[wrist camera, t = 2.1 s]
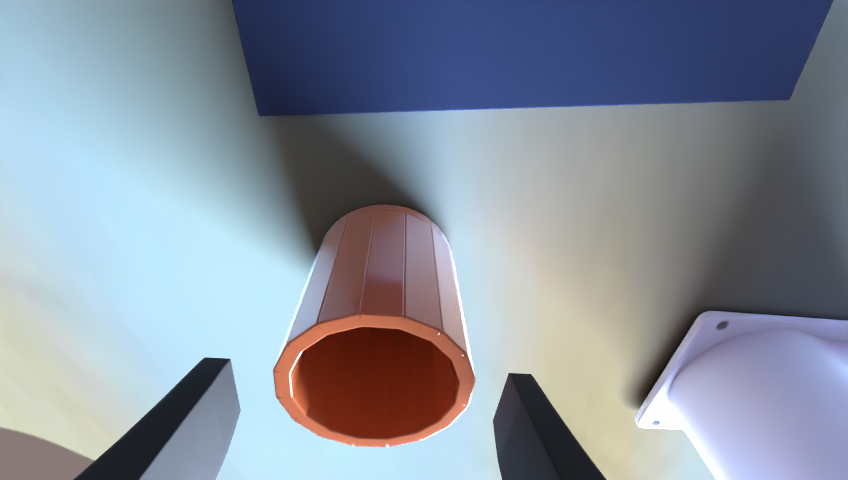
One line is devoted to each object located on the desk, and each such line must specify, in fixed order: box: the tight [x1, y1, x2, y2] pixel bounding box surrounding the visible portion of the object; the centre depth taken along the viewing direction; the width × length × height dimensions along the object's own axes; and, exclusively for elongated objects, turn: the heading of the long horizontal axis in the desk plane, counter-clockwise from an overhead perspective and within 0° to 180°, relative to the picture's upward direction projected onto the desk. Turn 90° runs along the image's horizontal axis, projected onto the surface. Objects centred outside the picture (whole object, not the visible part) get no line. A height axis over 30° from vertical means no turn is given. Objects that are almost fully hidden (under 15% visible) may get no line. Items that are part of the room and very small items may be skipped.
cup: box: [273, 204, 476, 447], centre depth 13 cm, size 5×5×6 cm
